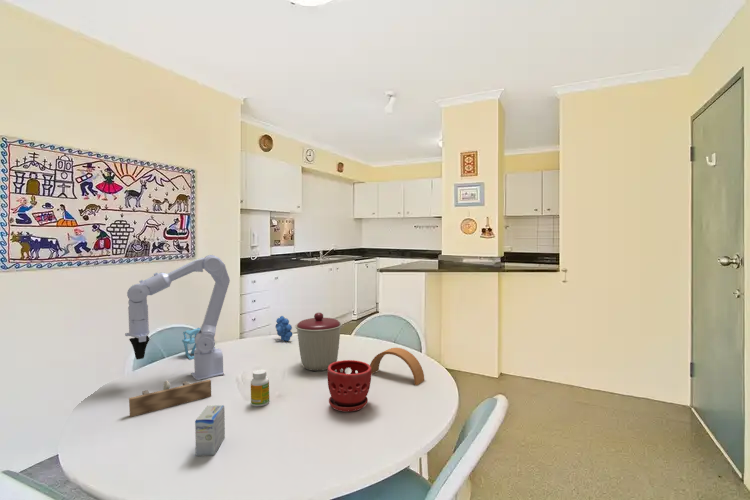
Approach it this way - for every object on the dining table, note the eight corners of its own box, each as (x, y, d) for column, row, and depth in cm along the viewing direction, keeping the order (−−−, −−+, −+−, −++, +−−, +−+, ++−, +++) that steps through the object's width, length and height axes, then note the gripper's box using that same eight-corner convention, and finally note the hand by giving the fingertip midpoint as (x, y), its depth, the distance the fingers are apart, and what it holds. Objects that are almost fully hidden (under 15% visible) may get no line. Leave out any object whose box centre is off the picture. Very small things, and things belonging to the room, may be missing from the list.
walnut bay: (202, 386, 132) (201, 371, 132) (211, 396, 124) (210, 380, 123) (125, 404, 118) (125, 388, 118) (130, 417, 110) (129, 399, 110)
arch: (377, 369, 147) (377, 343, 147) (424, 380, 136) (424, 352, 135) (368, 374, 142) (368, 347, 142) (416, 386, 131) (416, 356, 130)
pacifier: (154, 409, 115) (176, 402, 120) (153, 388, 115) (175, 382, 119) (148, 401, 121) (169, 395, 125) (147, 381, 121) (168, 376, 125)
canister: (286, 371, 146) (285, 315, 145) (311, 357, 163) (310, 307, 162) (328, 377, 139) (327, 319, 138) (350, 361, 156) (349, 309, 155)
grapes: (269, 340, 189) (268, 316, 188) (280, 337, 194) (280, 314, 193) (284, 344, 181) (283, 319, 181) (295, 341, 186) (295, 316, 186)
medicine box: (207, 439, 98) (206, 405, 97) (225, 438, 98) (224, 404, 98) (195, 456, 90) (194, 420, 89) (215, 455, 90) (214, 419, 90)
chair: (197, 351, 172) (196, 325, 171) (207, 355, 167) (206, 327, 166) (180, 356, 165) (179, 328, 165) (190, 359, 161) (189, 331, 160)
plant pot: (337, 419, 107) (337, 376, 107) (321, 401, 119) (321, 363, 118) (379, 409, 113) (379, 369, 113) (360, 393, 125) (359, 356, 124)
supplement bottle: (264, 407, 115) (263, 375, 115) (247, 406, 116) (246, 374, 116) (272, 400, 120) (271, 369, 120) (256, 398, 121) (255, 368, 121)
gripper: (122, 317, 135) (123, 355, 136) (127, 324, 124) (129, 366, 124) (145, 314, 140) (146, 351, 140) (152, 321, 128) (154, 361, 129)
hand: (139, 358), depth 133 cm, fingers closed
